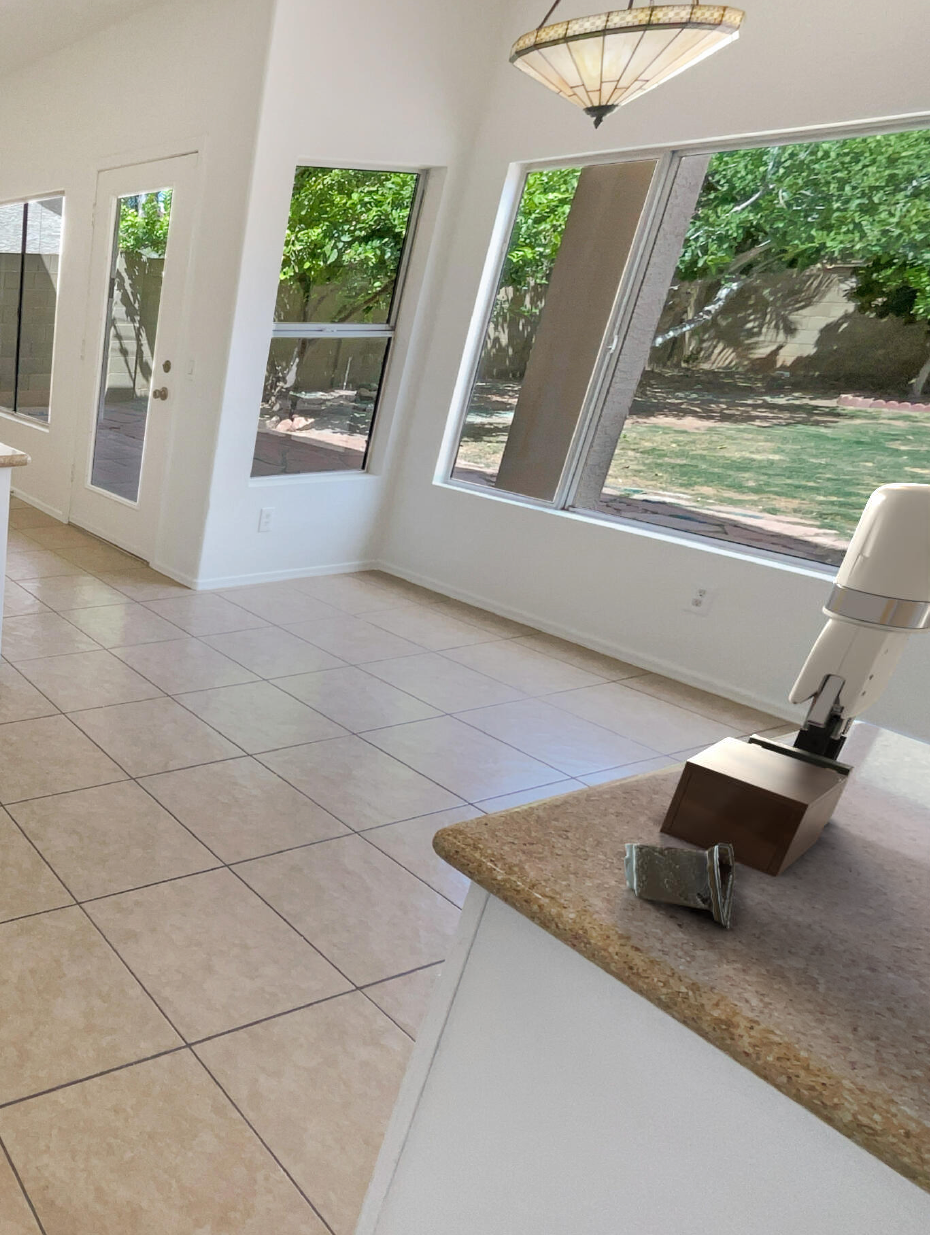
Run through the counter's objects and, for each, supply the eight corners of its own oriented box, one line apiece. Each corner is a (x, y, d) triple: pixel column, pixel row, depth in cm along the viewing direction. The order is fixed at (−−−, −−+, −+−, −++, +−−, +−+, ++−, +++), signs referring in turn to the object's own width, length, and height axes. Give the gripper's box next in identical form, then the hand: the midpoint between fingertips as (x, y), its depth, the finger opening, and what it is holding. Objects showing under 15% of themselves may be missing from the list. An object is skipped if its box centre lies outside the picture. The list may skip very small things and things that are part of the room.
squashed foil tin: (638, 841, 85) (613, 795, 78) (736, 851, 79) (718, 803, 73) (637, 936, 81) (611, 897, 74) (740, 953, 76) (721, 913, 69)
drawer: (747, 777, 95) (769, 725, 93) (842, 811, 89) (868, 756, 86) (696, 810, 89) (718, 754, 86) (794, 849, 82) (821, 790, 80)
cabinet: (701, 805, 91) (729, 736, 88) (813, 848, 84) (847, 776, 81) (659, 832, 86) (686, 760, 83) (774, 881, 79) (808, 804, 76)
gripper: (853, 586, 92) (789, 734, 98) (802, 607, 85) (736, 765, 91) (956, 607, 86) (881, 764, 92) (910, 631, 79) (832, 799, 85)
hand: (809, 764), depth 92 cm, fingers closed
